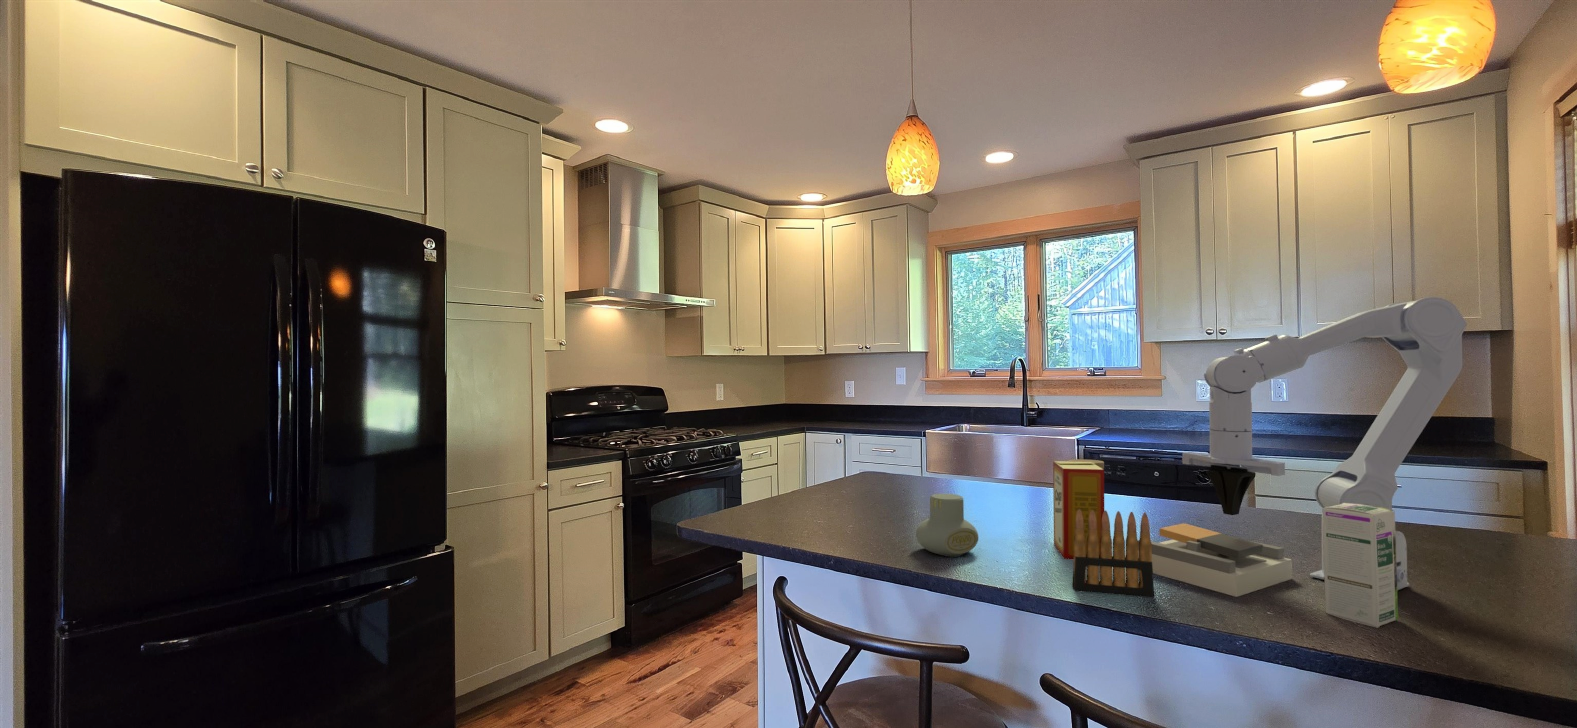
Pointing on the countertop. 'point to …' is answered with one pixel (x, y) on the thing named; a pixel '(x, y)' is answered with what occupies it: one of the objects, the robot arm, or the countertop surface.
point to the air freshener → (947, 527)
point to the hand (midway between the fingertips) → (1231, 513)
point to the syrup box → (1360, 563)
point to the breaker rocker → (1212, 540)
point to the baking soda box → (1075, 501)
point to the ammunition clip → (1113, 557)
